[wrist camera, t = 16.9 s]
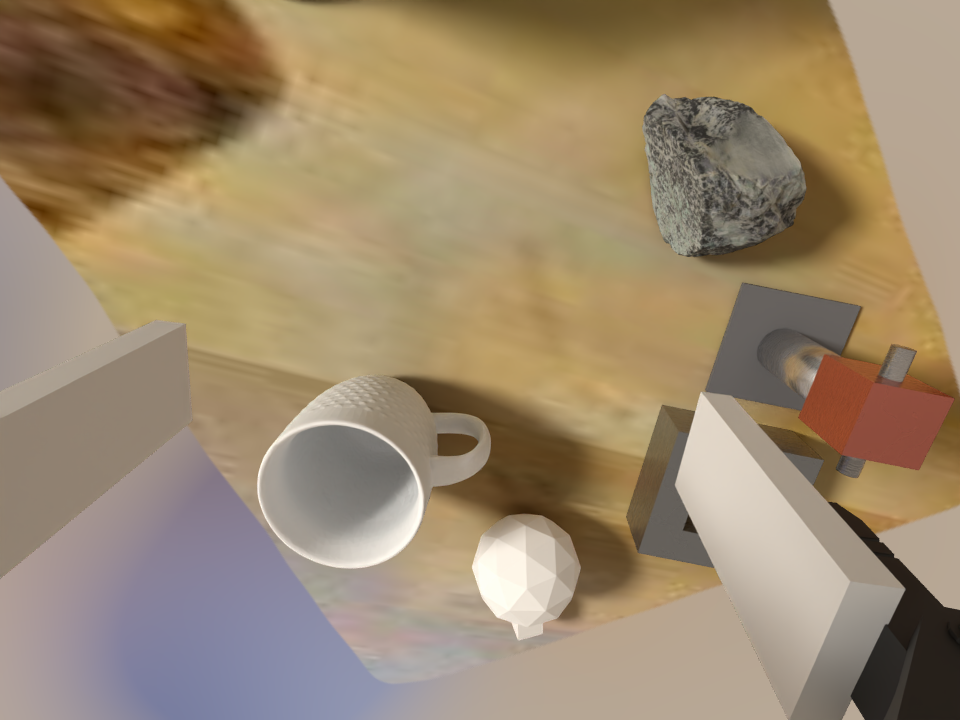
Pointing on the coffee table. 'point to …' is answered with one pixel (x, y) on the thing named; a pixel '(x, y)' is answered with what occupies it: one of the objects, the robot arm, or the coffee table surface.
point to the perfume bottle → (526, 571)
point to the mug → (361, 471)
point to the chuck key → (858, 401)
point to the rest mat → (761, 316)
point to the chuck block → (658, 503)
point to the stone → (718, 175)
